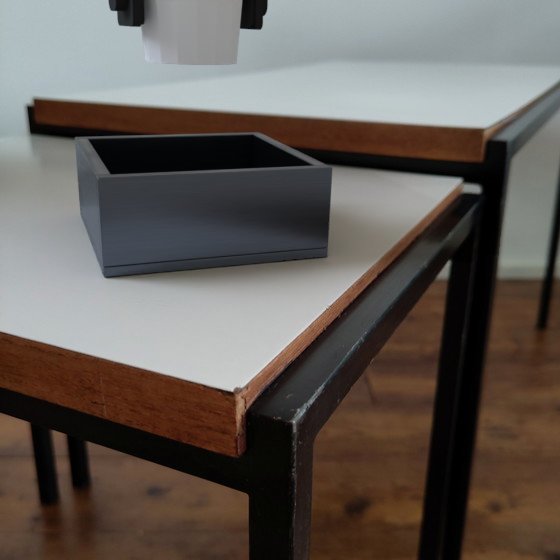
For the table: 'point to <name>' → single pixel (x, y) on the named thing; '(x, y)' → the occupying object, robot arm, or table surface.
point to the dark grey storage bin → (200, 201)
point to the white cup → (191, 31)
